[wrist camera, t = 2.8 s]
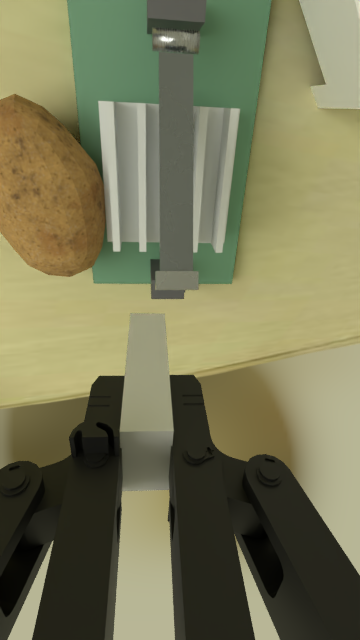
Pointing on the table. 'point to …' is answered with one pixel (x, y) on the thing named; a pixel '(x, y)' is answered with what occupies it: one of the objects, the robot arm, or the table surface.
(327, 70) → the paper towel holder
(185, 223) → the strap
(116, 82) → the heatsink board
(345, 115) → the table surface
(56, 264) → the potato
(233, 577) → the robot arm
